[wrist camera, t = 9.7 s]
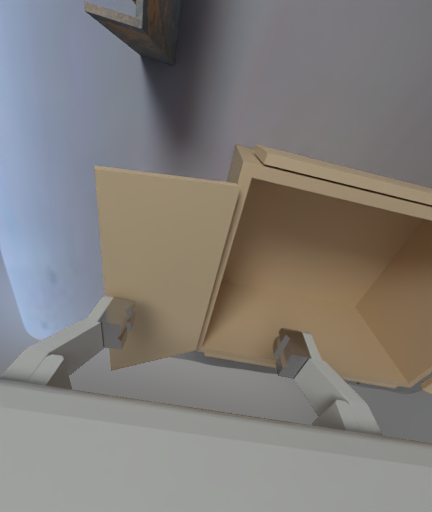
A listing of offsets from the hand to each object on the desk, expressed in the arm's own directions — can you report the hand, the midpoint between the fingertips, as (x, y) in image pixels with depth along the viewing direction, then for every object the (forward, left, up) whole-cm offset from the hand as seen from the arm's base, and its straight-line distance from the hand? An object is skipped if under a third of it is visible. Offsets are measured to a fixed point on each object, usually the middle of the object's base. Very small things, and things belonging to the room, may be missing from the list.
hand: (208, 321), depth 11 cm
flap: (0, 0, -3) cm, 3 cm away
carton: (0, +10, -13) cm, 17 cm away
